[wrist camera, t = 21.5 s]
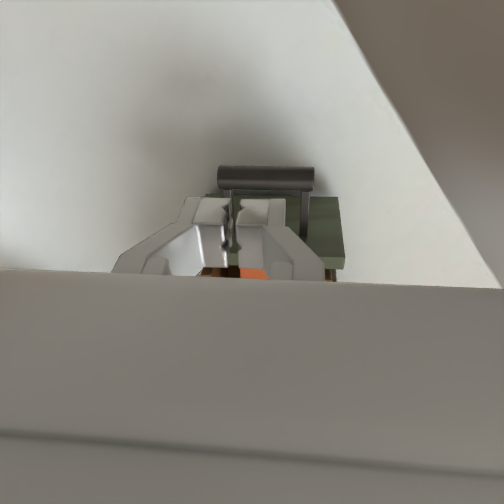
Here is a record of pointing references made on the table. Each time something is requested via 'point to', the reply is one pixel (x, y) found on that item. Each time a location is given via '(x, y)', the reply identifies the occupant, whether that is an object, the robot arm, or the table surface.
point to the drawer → (296, 212)
